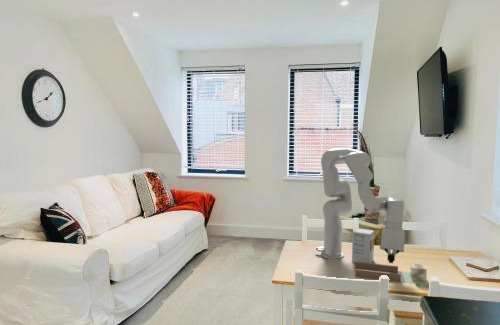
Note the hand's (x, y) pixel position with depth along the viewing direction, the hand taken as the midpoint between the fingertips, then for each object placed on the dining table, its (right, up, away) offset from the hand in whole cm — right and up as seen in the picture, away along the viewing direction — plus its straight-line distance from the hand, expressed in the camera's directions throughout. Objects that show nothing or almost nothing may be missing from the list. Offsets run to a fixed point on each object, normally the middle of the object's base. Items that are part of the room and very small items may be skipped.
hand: (390, 262), depth 170 cm
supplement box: (-7, -6, +20) cm, 22 cm away
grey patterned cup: (+11, -7, -4) cm, 14 cm away
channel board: (0, -7, 0) cm, 7 cm away
